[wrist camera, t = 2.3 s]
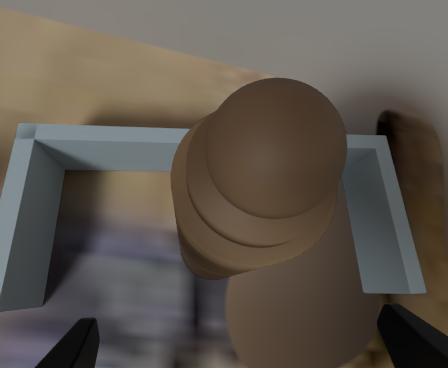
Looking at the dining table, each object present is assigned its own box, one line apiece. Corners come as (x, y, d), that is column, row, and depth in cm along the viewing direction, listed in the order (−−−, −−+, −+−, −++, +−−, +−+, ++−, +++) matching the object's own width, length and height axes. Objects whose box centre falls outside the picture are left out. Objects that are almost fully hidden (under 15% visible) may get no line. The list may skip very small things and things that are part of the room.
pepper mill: (259, 250, 20) (472, 140, 5) (207, 294, 19) (295, 319, 4) (218, 200, 21) (299, -18, 6) (166, 239, 20) (104, 78, 5)
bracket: (376, 292, 20) (426, 293, 16) (24, 307, 17) (-28, 313, 13) (350, 162, 24) (385, 135, 19) (52, 156, 21) (18, 123, 16)
